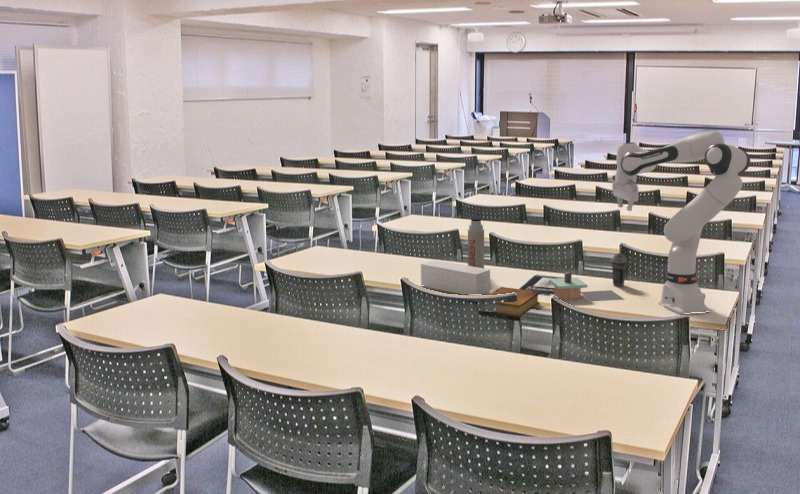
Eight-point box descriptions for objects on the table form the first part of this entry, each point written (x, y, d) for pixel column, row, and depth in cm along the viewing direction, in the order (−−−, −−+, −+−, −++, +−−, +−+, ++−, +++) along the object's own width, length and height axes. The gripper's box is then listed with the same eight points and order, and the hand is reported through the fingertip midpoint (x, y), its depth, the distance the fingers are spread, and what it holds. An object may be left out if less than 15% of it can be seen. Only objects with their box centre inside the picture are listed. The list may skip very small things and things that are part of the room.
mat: (624, 300, 356) (624, 299, 356) (591, 302, 354) (591, 301, 354) (611, 291, 371) (611, 290, 370) (579, 293, 369) (579, 292, 368)
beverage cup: (625, 284, 382) (626, 242, 378) (627, 288, 375) (629, 246, 370) (609, 284, 383) (610, 242, 378) (611, 288, 376) (613, 245, 371)
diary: (499, 299, 364) (499, 286, 363) (539, 304, 355) (539, 291, 354) (478, 312, 345) (478, 299, 343) (519, 318, 336) (520, 304, 334)
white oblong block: (490, 292, 374) (490, 269, 371) (476, 297, 366) (476, 274, 364) (435, 281, 394) (434, 259, 392) (421, 286, 386) (420, 264, 384)
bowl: (583, 300, 358) (584, 287, 356) (559, 301, 356) (559, 288, 355) (575, 293, 368) (575, 280, 367) (551, 294, 367) (551, 281, 366)
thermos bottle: (475, 276, 400) (475, 220, 394) (464, 273, 407) (464, 218, 400) (487, 274, 405) (487, 218, 399) (476, 271, 411) (476, 216, 405)
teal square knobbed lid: (587, 287, 356) (587, 275, 354) (558, 289, 354) (558, 277, 353) (576, 280, 368) (577, 268, 367) (548, 281, 366) (549, 270, 365)
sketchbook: (516, 293, 373) (516, 289, 372) (535, 277, 399) (535, 273, 399) (563, 298, 364) (563, 293, 363) (579, 281, 390) (579, 277, 390)
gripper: (642, 181, 358) (641, 212, 361) (623, 175, 378) (622, 205, 381) (629, 181, 358) (628, 213, 360) (610, 176, 377) (609, 205, 380)
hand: (624, 208), depth 371 cm, fingers open, 8 cm apart
